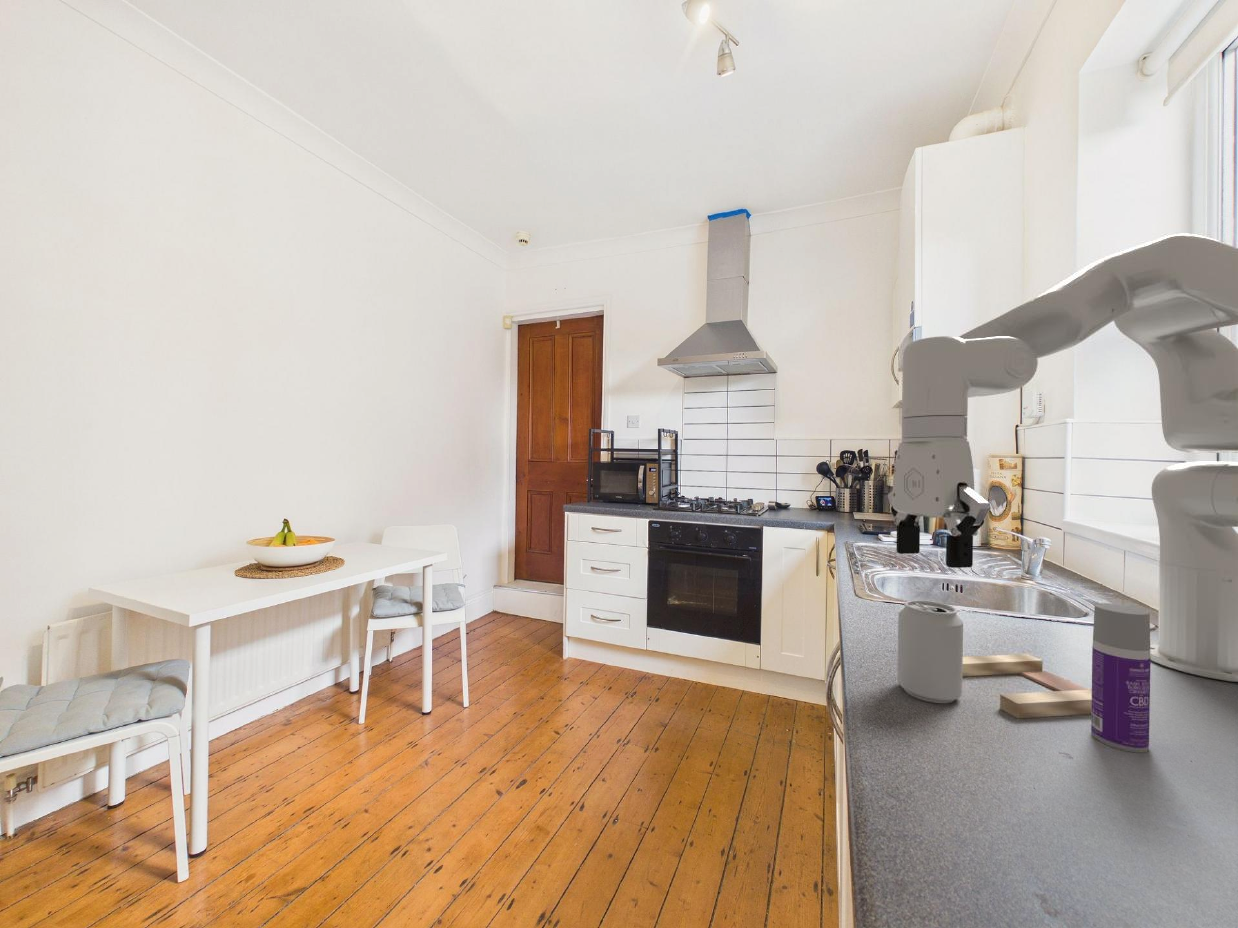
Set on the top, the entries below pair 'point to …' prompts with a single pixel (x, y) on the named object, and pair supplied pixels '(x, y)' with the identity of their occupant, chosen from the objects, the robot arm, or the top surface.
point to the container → (1121, 677)
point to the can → (930, 651)
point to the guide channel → (1036, 704)
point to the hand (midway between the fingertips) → (931, 559)
